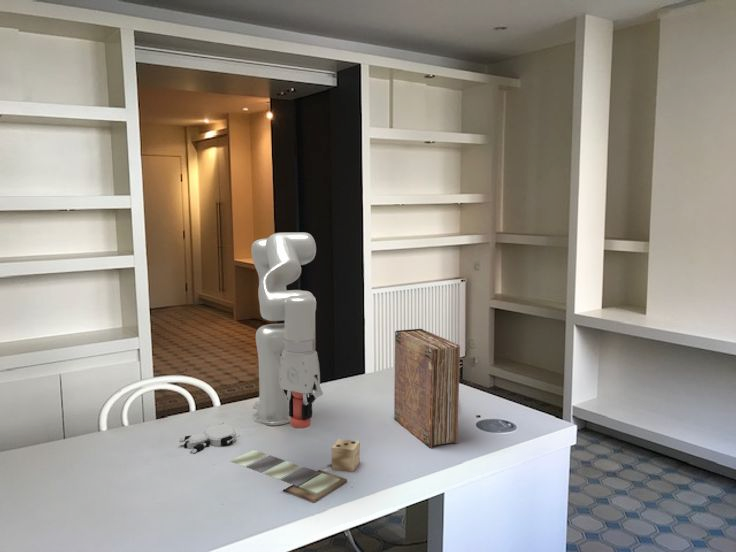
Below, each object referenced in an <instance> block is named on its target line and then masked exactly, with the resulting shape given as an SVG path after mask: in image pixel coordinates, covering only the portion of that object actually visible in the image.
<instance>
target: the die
mask: <svg viewBox="0 0 736 552" xmlns="http://www.w3.org/2000/svg"><path fill="white" fill-rule="evenodd" d="M360 443H361V442H360V441H359V440H351V439H342V438H341V439H340V438H338V439H337V441H335V443H334V444H333V445H332V446H331V469H332V470H336V471H344V472H351V473H352V472H355V470H356V468H357V467H358V465H359V464H360V460H361V459H360V455H361V454H360V449H361V448H360V445H361V444H360Z"/></svg>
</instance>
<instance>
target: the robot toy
mask: <svg viewBox="0 0 736 552" xmlns="http://www.w3.org/2000/svg"><path fill="white" fill-rule="evenodd" d="M236 433H237V432H236V430H235V428H233V427H232V426H230V425H227V424H225V423H224V422H221V423H220V424H215V425H212V426H208V427H207V428H206V429H205V430H204V433H202V432H200V433H195V434H192V435H191V434H190V435H185V436H184V437H181V438H179V439H178V442H179V443H184V444H183V449H190V450H189V453H191V454H196V453H199V452H202V451H203V450H204V448H205V447H208V446H213V447H224V446H228V445H230V444H234V443H235V442H236V440H237V438H239V437H240V436H241V435H240V434H238V435H237V434H236Z"/></svg>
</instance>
